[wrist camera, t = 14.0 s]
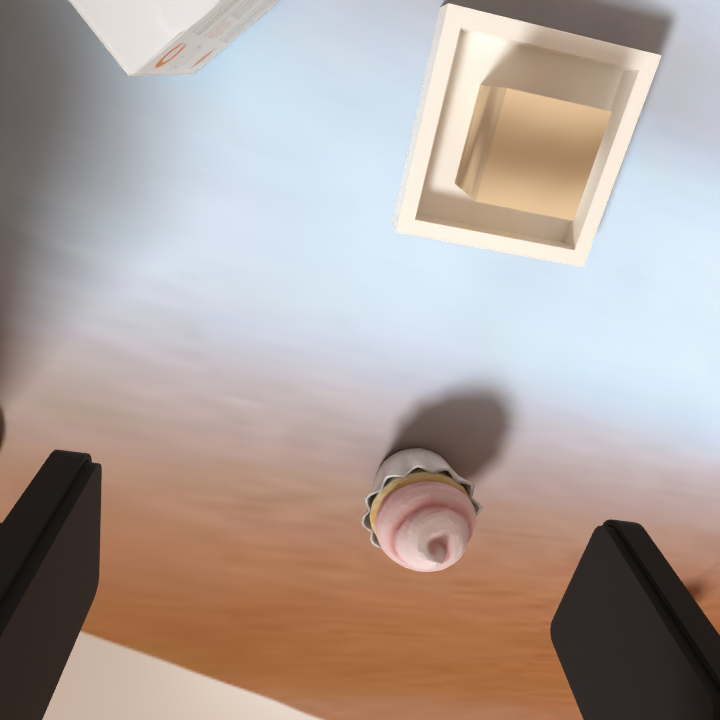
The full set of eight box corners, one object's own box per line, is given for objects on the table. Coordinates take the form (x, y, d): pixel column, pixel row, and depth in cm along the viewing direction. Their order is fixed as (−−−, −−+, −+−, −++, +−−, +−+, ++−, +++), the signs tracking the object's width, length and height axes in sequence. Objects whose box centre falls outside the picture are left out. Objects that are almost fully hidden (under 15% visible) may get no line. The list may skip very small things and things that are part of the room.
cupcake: (488, 484, 51) (524, 571, 42) (398, 537, 53) (414, 632, 44) (429, 409, 48) (454, 487, 39) (335, 469, 50) (338, 557, 41)
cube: (539, 200, 40) (573, 220, 35) (454, 183, 40) (475, 201, 34) (570, 105, 38) (611, 111, 33) (480, 85, 37) (507, 87, 32)
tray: (568, 256, 43) (583, 267, 41) (391, 222, 41) (396, 232, 39) (640, 56, 38) (661, 55, 35) (439, 7, 36) (448, 3, 33)
